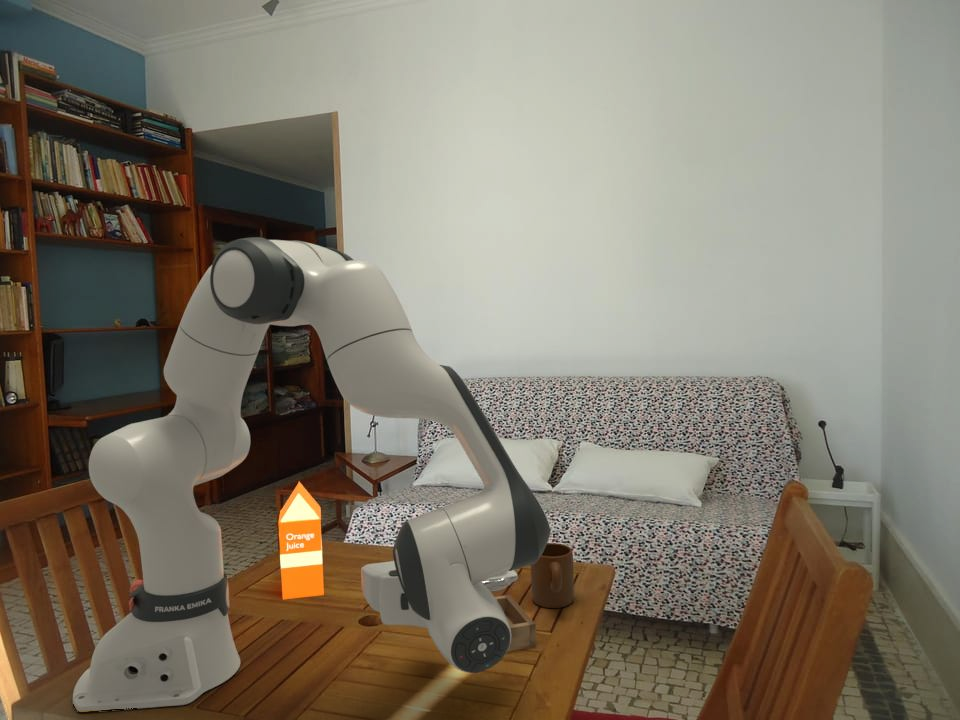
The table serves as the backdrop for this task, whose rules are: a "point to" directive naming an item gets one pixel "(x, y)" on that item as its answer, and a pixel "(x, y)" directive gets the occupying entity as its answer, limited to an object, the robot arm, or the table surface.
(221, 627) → the robot arm
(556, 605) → the mug
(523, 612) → the large crate
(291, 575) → the orange juice
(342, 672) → the table surface
